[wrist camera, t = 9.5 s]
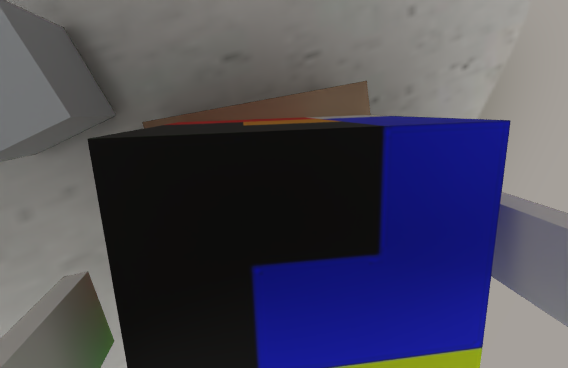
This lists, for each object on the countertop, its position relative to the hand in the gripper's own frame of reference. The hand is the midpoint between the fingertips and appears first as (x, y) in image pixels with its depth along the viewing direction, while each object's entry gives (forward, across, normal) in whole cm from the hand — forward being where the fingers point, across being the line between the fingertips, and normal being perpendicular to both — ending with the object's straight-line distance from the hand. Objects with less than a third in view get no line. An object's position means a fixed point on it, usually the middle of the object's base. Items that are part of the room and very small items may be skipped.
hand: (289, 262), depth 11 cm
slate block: (+14, -12, +8) cm, 20 cm away
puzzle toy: (+7, 0, 0) cm, 7 cm away
